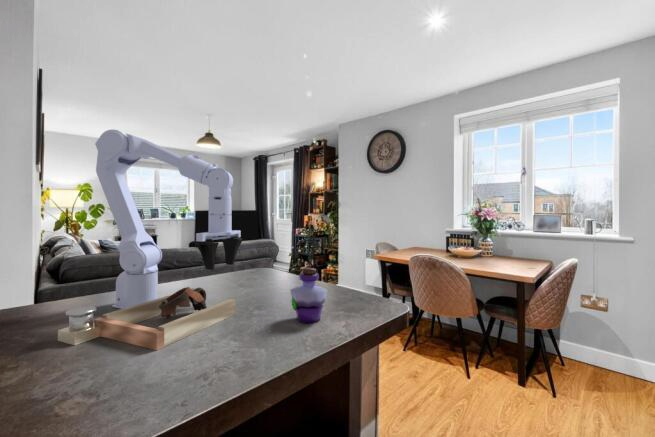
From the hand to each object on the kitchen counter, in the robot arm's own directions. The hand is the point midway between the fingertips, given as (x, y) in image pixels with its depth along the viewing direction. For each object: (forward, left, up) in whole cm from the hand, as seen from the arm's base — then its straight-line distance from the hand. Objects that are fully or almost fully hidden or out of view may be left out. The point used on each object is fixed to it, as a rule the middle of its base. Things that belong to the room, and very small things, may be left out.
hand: (220, 266), depth 81 cm
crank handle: (-10, -2, -10) cm, 14 cm away
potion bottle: (+26, 0, -10) cm, 28 cm away
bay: (0, -14, -10) cm, 17 cm away
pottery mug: (0, -11, -11) cm, 15 cm away
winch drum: (-9, -27, -10) cm, 31 cm away
